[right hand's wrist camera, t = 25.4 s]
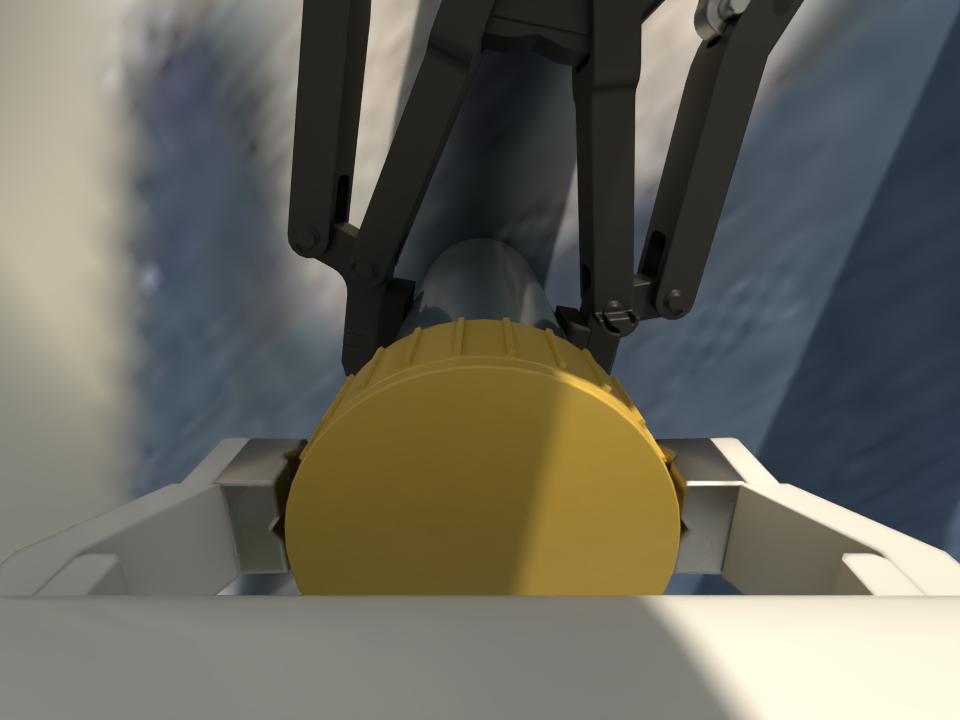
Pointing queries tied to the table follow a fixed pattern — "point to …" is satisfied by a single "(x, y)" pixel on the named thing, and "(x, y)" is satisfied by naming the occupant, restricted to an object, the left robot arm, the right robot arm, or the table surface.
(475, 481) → the lid
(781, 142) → the table surface
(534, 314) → the bottle
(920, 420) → the table surface
